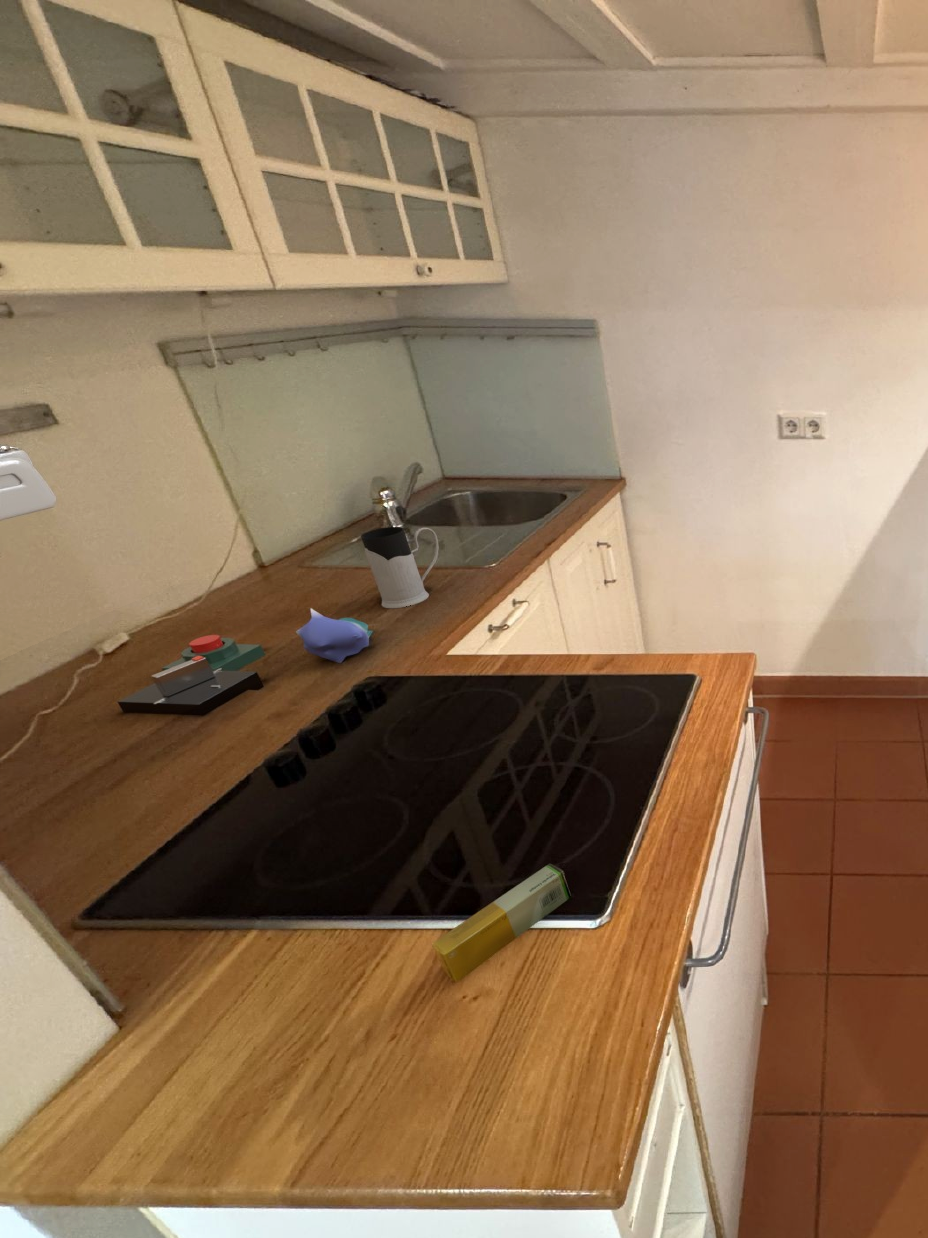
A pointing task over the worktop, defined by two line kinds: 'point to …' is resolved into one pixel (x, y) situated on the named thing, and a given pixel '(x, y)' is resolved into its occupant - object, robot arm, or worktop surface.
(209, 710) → the base
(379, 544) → the glass holder
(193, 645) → the button
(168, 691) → the grey switch lever
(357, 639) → the figurine
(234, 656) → the green control housing
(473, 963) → the medication box
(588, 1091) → the worktop surface
